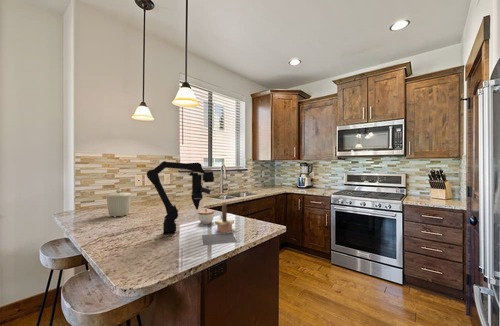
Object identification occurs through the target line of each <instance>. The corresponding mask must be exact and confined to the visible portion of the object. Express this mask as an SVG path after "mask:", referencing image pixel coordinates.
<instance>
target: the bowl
mask: <svg viewBox="0 0 500 326" xmlns="http://www.w3.org/2000/svg"><path fill="white" fill-rule="evenodd" d="M216 226H217V232H220V233H229V232H231V231H232V230H233V224H231V225H223V226H222V225H216Z"/></svg>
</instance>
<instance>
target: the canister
mask: <svg viewBox="0 0 500 326" xmlns="http://www.w3.org/2000/svg"><path fill="white" fill-rule="evenodd" d="M115 191H116V192H111V193H108V194H106V195H105V198H106V203H107V211H108V212H107V213H108V215H109V216H110V217H111V216H122V217H125V216H124V215H126V216H128V215H127V214H129V213H130V208H131V199H132V195H133V193H130V192H122V189H116V190H115Z"/></svg>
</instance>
